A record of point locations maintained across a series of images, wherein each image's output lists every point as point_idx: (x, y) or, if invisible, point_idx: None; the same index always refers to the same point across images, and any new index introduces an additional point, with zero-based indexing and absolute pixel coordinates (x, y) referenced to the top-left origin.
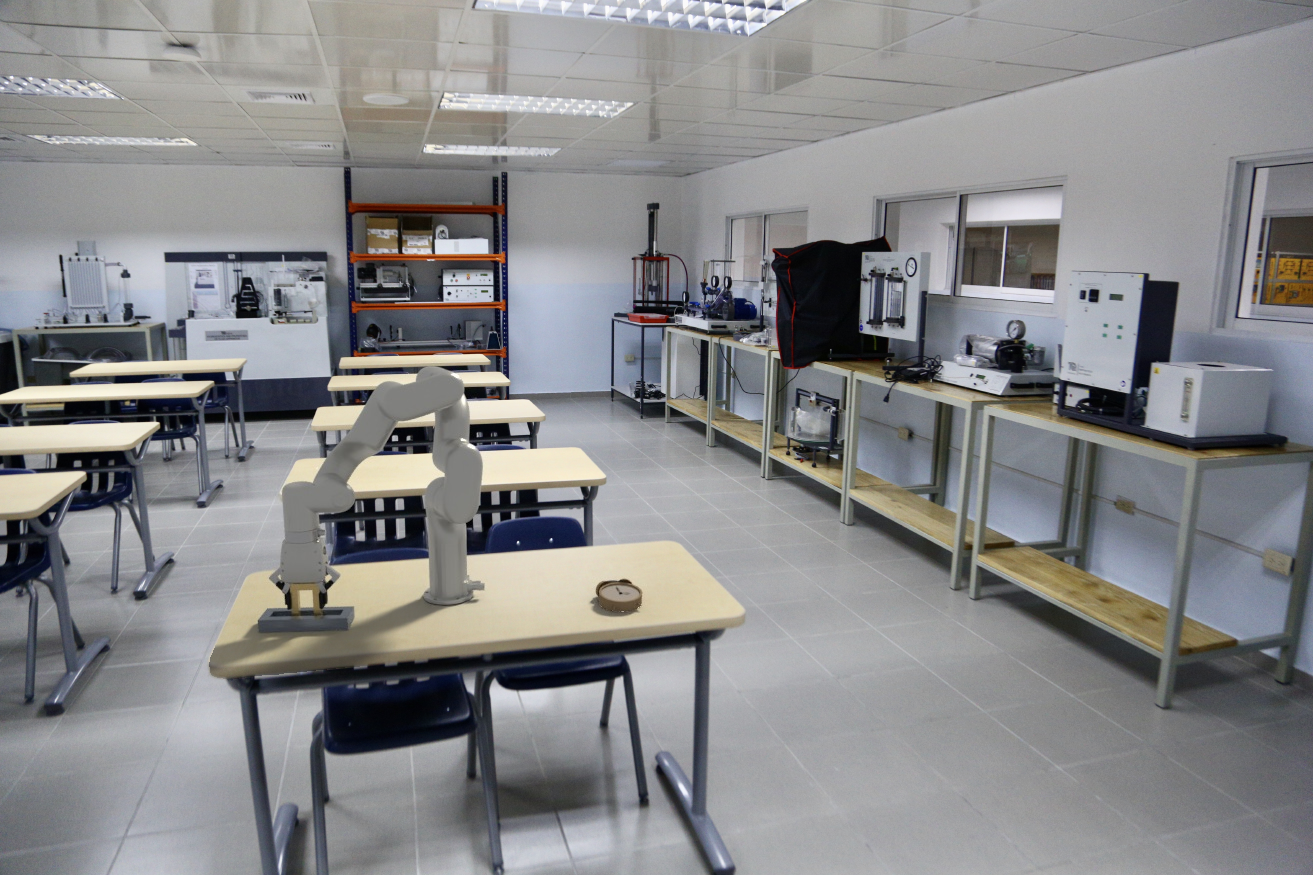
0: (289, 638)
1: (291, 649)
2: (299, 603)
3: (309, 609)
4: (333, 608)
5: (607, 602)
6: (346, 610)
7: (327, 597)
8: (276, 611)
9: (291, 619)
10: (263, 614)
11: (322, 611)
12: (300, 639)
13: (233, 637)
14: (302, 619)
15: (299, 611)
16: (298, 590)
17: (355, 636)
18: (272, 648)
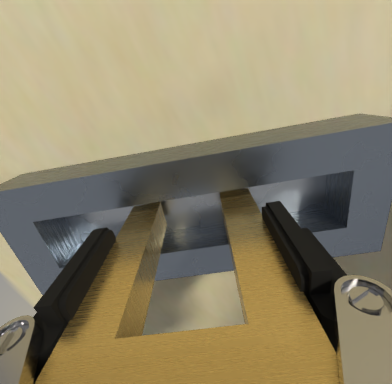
0: (182, 283)
1: (218, 326)
2: (148, 253)
3: (182, 187)
4: (298, 161)
5: None
6: (370, 179)
7: (319, 246)
8: (45, 218)
9: (160, 279)
10: (20, 253)
11: (254, 203)
12: (216, 285)
13: (27, 290)
14: (200, 274)
15: (158, 234)
16: (126, 336)
17: (375, 257)
18: (170, 326)
